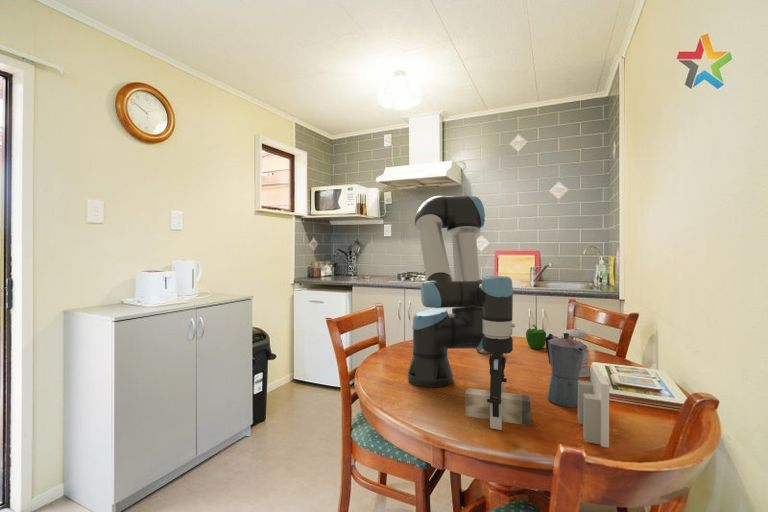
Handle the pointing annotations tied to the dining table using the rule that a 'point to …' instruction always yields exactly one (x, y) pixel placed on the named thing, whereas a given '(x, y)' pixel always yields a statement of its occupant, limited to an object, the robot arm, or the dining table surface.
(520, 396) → the grey rectangular block
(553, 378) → the moka pot
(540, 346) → the bell pepper
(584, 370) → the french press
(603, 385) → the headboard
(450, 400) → the dining table surface
